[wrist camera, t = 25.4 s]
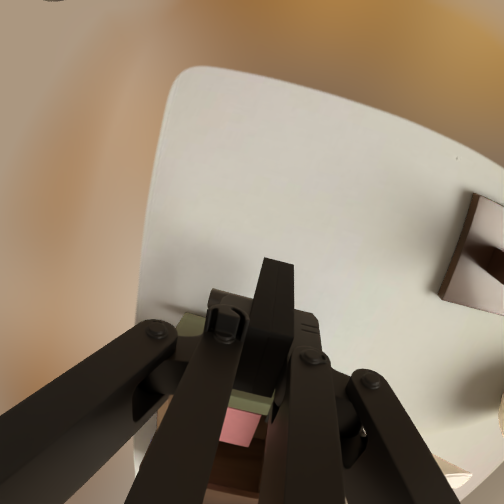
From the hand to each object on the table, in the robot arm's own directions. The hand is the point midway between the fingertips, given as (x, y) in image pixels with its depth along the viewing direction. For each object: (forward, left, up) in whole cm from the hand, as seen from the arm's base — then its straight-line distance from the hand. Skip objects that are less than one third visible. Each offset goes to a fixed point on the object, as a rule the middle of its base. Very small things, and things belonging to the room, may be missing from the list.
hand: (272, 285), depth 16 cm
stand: (+15, +15, -11) cm, 24 cm away
